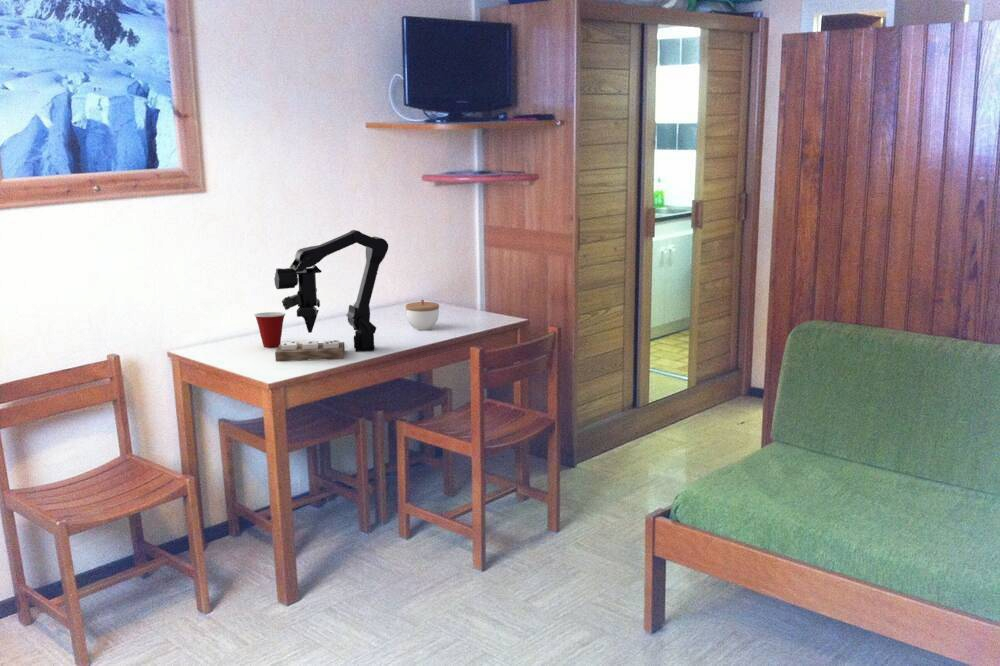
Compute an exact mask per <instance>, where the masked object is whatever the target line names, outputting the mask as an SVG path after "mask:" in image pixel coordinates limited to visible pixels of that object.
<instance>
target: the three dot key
mask: <svg viewBox="0 0 1000 666" xmlns="http://www.w3.org/2000/svg"><path fill="white" fill-rule="evenodd" d="M339 342H340V340H338V339H337V340H324V341H323V342H322V343H323V349H328V348H339Z"/></svg>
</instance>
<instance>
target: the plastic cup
mask: <svg viewBox="0 0 1000 666" xmlns="http://www.w3.org/2000/svg"><path fill="white" fill-rule="evenodd" d="M253 316H254V317H255V319H256V323H257V325H258V331H259V334H260V338H261V342H262V345H263V347H264V348H267V349H268V348H269V349H272V348H273V349H274V348H278V346H279V344H282V342H281V340H282V334H283V324H284V320H285V316H286V312H280V311H278V312H277V311H273V312H272V311H270V312H269V311H267V312H259V313H258V312H257V313H255V314H253Z"/></svg>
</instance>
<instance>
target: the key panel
mask: <svg viewBox="0 0 1000 666" xmlns="http://www.w3.org/2000/svg"><path fill="white" fill-rule="evenodd" d="M323 343H324V342H318V344H319V346H318V349H302V344H303V343H298V347H297V350H281V344H282V343H280V344H279V346H278V347H276V350H275V352H274V355H275V356H274V357H275V358H274V359H275V362H289V361H288V360H298V361H309V360H308V359H327V360H343V359H344V356H345V352H346V350H345V342H344V341H343V342H342V341H339V348H328V349H323ZM344 351H345V352H344Z"/></svg>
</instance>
